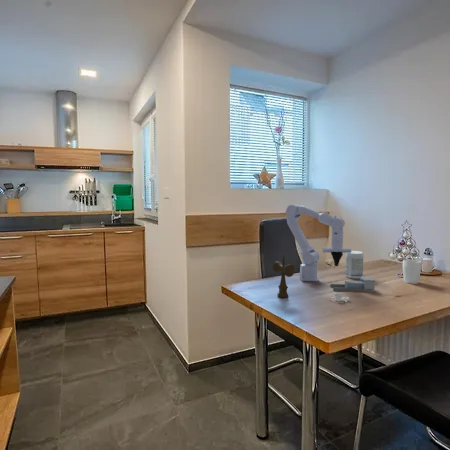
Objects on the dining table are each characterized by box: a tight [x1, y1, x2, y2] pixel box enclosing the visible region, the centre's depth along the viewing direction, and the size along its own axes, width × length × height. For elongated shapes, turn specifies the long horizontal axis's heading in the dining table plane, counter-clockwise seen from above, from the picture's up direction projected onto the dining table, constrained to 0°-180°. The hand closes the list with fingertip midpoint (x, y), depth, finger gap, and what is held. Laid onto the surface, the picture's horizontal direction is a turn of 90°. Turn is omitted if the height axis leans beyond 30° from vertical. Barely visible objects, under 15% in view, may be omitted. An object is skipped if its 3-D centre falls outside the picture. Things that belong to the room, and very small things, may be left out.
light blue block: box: [344, 280, 364, 288], centre depth 160 cm, size 12×4×4 cm, turn 84°
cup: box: [402, 258, 423, 285], centre depth 172 cm, size 9×9×12 cm
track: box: [329, 276, 376, 293], centre depth 161 cm, size 20×7×6 cm, turn 84°
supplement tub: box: [344, 250, 364, 280], centre depth 183 cm, size 10×10×15 cm
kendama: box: [272, 255, 296, 299], centre depth 148 cm, size 6×10×20 cm, turn 33°
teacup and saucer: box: [331, 291, 351, 302], centre depth 144 cm, size 9×8×4 cm
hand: (336, 265), depth 169 cm, fingers closed
